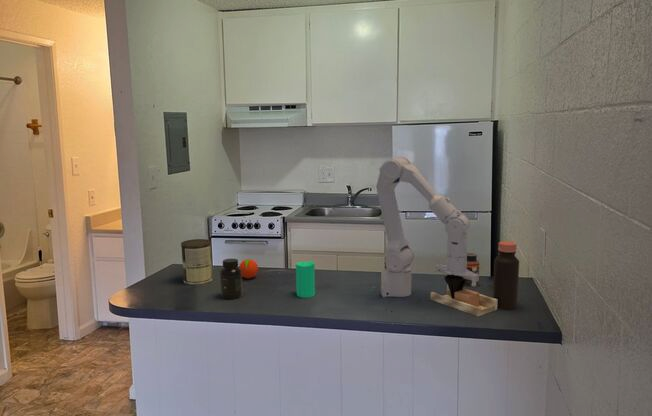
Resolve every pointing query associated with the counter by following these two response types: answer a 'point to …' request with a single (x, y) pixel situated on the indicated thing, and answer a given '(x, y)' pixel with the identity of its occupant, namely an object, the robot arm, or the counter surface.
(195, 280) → the coffee can
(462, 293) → the block
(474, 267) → the supplement bottle
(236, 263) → the supplement bottle
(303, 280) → the candle
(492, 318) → the counter surface
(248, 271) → the red tomato
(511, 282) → the vinegar
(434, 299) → the wooden tray
